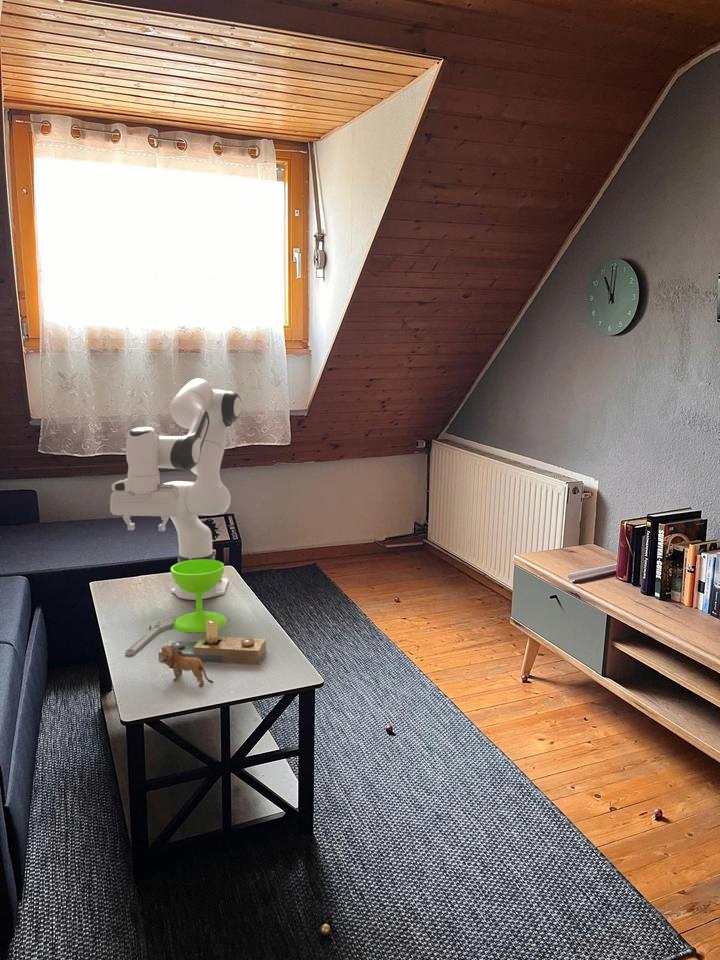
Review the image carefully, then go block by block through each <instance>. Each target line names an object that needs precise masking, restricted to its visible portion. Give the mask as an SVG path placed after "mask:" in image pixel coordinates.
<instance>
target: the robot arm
mask: <svg viewBox="0 0 720 960" xmlns="http://www.w3.org/2000/svg"><path fill="white" fill-rule="evenodd" d="M169 411H170V416H171V418H172V420H173V421H174V422H175V423H176V424H177V425H178V426H180V427H181V428H183V429H186V430H188V432H187V434H185V435H177V436H175V435H174V436H173V435H160V434H158V433H156V431H155V428H153V427H151V426H139V427H138V426H137V427H135V428H132V429H130V430H129V431H128V432H127V436H126V450H125V451H126V453H125V454H126V462H127V464H128V465H127V466H128V469H127V477H126V478H123V479H122V480H121V479H120V480H118V481H116V482H114V483H111V490H112V492H111V494H110V499H109V509H110V513H111V514H112V515H114V516H122V519H123V520H124V522H125V524H126V525H127V530H128V531H134V530H135V528H136V527H135V525H136V524H135V522H132V521H131V518H132V517H131V516H135V517H136V516H137V517H138V516H141V517H160V518H161V521H162V523H159V525H158V526H157V528H158V531H159V532H164V531H166V530H167V529H166V525H167V522H168V521H169V519H171V521H172V523H173V525H174V527H175V529H176V533H177V539H178V541H177V542H178V551H179V552H178V554H177V556H178V558H177V561H178V563H180V562H183V561H188V560H197V559H209V560H216V559H215V558H216V554H217V551H216V549H213V535H212V534H213V533H212V531H211V529H210V528H209V526H208V525H206V524H204V522H202V521H201V519H199V516H217V515H223V514H224V513H226V512H227V511H228V509H229V507H230V505H231V499H232V498H231V493H230V490H229V489H228V488H227V486H225V485H224V483H223V481H222V479H221V476H220V470H221V464H222V462H223V461H222V460H223V458H224V454H225V448H226V444H227V438H228V437H227V436H228V428H229V427H231V426H232V425H233V423H235V422H236V421H237V420H238V419H239V417H240V415H241V412H242V399H241V397H240V395H239V394H238V393H237V392H235V391H232V390H223V389H217V388H216V389H215V388H213V386H212V385H211V383H210V382H209V381H207V380H205V379H203V378H194V379H192V380H190V381H189V382H188V383H186V384H185V385H184V386H183V387H181V388H180V390H179V391H178V392H177V394H175V396H174V397H173V399H172V401H171V403H170V406H169ZM159 469H171V470H172V469H174V470H175V469H176V470H180V471H191V472H192V473H193V474H194V475H196V476H197V477H196V480H195V481H185V480H174V481H167V482H163V483H161V482H160V481H161V479H160V470H159ZM228 582H229V579H228V578H226V577H222V578H221V580H220V581H219V582H218V584H217V585H216V586H215V587H214V588H212V589H211V590H209V591H207V592H203V593H202V600H204V599H210V598H213V597H218V596H223V595H225V593H226V591H227V588H228V586H229V583H228ZM170 593H171V594H174V595H175V596H176V597H177V598H179V599H183V600H190V601H191V600H194V601H196V593H190V592H187V591H185V590H183V589H181V588H180V587H179V586H178V585H177V584H176V583H175V582H174V587H173V588H171V590H170Z"/></svg>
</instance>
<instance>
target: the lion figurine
mask: <svg viewBox="0 0 720 960" xmlns="http://www.w3.org/2000/svg"><path fill="white" fill-rule="evenodd" d="M165 645H166V644H165ZM165 645H164V646H162V647H160V648H161V649H160V650H161V655H160V657H159V656H158V660H160V663H161V664H165V665H166V666H167V667H168V668H169V669H173V674H174V678H173V679H172V681H173V682H174V683H176V682H178V681H179V680H180V678H181V677H183V671H184V672H185V671H186V672H190V671H191V672H192V675H194V677H195V678H196V680H197V681H198V682H200V683H199V684H198V687H199V688H203V687H204V685H205V681H204V679H203V678H205V680H206V681H207V682H208V683H209V684H213V683H215V682H214V681H213V680H212V679H209V678H208V676H207V674H206V670H205V667H204V664H203V662H202V661H201V660H200V659H199V658H197V657H194V658H192V657H187V656H185V655H184V654H183V653H182V652H181V651H180V650H179V649H177V648H175V647H173V646H169V645H166V646H165Z"/></svg>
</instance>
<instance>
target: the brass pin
mask: <svg viewBox="0 0 720 960" xmlns="http://www.w3.org/2000/svg"><path fill="white" fill-rule="evenodd" d="M218 633H219V632H218V629H217V620H208V621H206V632H205V634H206V635H205V636H207V645H216V646H218V637H219V636H218Z"/></svg>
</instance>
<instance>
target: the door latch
mask: <svg viewBox="0 0 720 960" xmlns="http://www.w3.org/2000/svg"><path fill="white" fill-rule="evenodd" d="M166 645H169V646H173V647H175V648H177V649H179V650H180V651H181V652H182V653H183V654H184V655H185V656H187V657H192V658H194V657H197V658H199V659H200V660H201V661H203V662H204V663H205V662H206V663H208V662H209V663H222V664H223V663H224V664H239V665H242V664H243V665H255V666H257V665H260V663H261V662H262V660H263V659H264V656H265V655H266V654H267V639H266V638H255V637H254V638H253V637H235V636H234V637H232V636H218V646H216V645H207V635H203V636H202V637H201V638H200V639H199V640H198V641H186V640H185V641H184V640H183V641H182V640H169V641H168V642H167V643H166V644H165V645H164V646H166ZM160 655H161V649H160V650H159V651H158V658H159V657H160ZM203 662H202V663H203Z"/></svg>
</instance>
